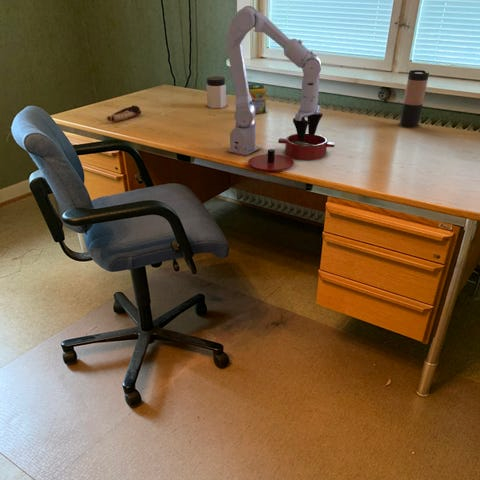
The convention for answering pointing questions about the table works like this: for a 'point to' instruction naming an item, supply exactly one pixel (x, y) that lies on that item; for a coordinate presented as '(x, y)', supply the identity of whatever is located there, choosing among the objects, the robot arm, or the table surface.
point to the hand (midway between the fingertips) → (306, 137)
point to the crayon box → (258, 97)
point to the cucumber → (301, 143)
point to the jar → (216, 92)
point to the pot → (306, 147)
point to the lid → (270, 162)
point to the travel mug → (414, 98)
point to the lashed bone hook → (125, 114)
